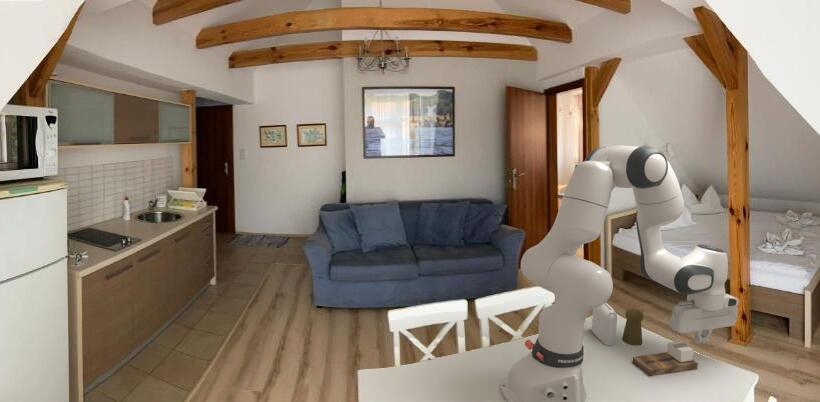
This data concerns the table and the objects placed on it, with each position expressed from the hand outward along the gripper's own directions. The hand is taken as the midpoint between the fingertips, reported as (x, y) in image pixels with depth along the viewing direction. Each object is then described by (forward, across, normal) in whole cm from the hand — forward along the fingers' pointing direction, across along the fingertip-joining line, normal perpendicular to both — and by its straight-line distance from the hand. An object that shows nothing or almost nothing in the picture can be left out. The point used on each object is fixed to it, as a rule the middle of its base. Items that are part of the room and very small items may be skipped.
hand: (700, 341), depth 122 cm
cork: (+6, -11, +14) cm, 19 cm away
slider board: (+6, -12, 0) cm, 14 cm away
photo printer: (+6, -19, +18) cm, 27 cm away
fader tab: (+4, -7, 0) cm, 8 cm away
